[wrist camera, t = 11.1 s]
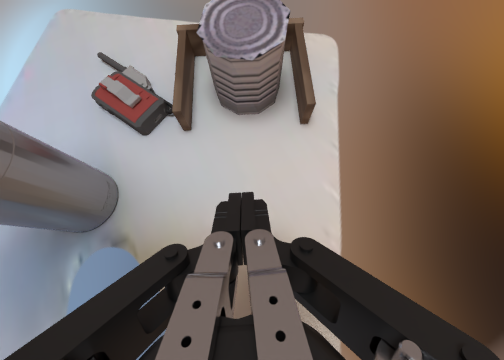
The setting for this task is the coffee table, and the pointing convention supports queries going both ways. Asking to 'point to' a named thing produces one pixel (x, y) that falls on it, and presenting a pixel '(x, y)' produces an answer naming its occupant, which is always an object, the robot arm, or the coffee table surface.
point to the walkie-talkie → (131, 98)
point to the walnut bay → (194, 46)
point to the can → (245, 51)
